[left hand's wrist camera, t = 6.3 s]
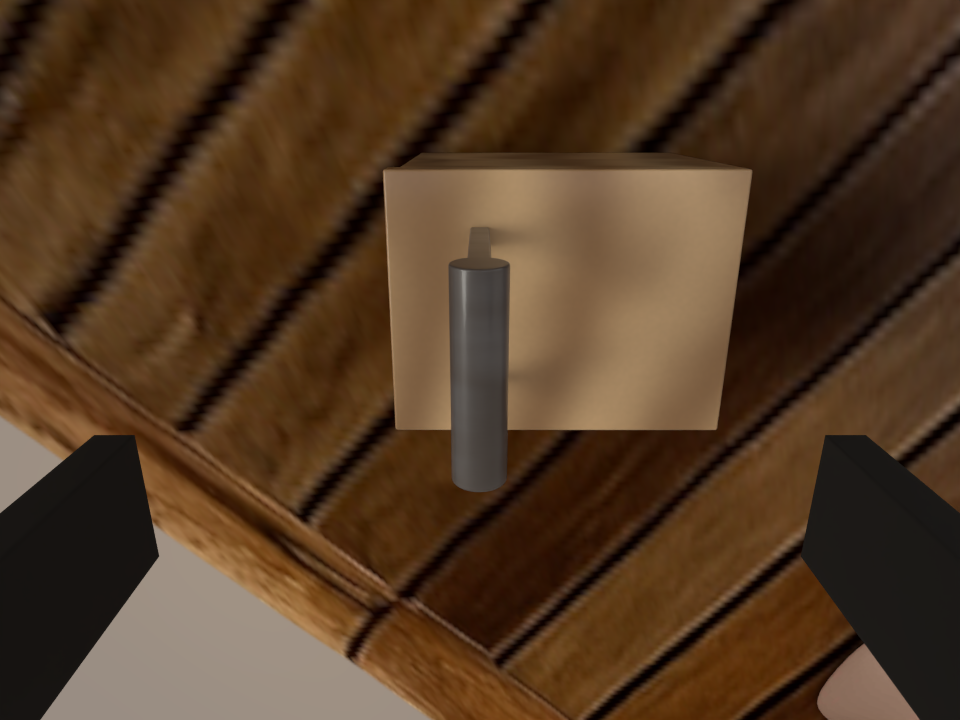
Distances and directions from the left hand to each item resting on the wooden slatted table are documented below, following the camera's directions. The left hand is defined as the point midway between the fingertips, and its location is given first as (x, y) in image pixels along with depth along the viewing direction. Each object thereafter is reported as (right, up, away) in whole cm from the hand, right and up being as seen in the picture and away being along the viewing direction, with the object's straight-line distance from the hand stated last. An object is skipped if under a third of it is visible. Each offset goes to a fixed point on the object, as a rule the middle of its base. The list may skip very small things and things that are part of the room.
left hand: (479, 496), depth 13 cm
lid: (+3, +5, +13) cm, 14 cm away
